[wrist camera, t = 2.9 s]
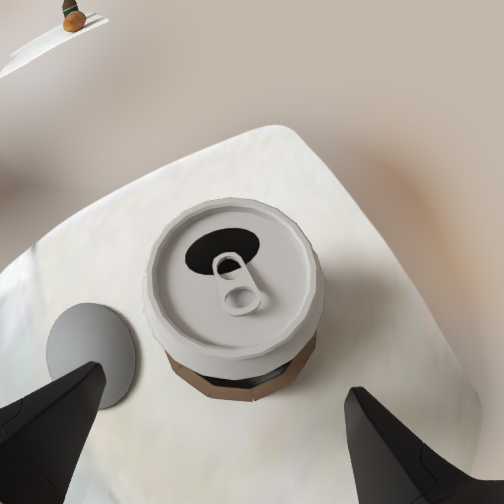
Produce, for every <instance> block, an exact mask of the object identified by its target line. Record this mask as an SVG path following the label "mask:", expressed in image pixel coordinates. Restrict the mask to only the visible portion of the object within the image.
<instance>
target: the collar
mask: <svg viewBox="0 0 504 504" xmlns="http://www.w3.org/2000/svg"><path fill="white" fill-rule="evenodd" d="M314 346H316V330H315V333H314V335H313V337H312V338H311V339H310V340H309V341H308V342H307V344H306V345H305V346H304V347H303V348H302V349H301V350H300V352H299V353H298V354H297V355H296V356H295V357H294V358H293V359H292V360H290V361H288V362H287V363H286V364H285V366H284V367H283V369H282V370H281V372H280V373H279V374H278V375H276V376H274V377H272V378H270V379H268V380H266V381H264V382H262V383H260V384H258V385H255V386H253V387H251V388H245V387H232V386H221V385H217V384H216V383H214V382H213V381H211V380H210V379H209V378H207V377H206V376H204V375H201V374H199V373H197V372H195V371H193V370H191V369H190V368H188V367H186V366H184V365H182V364H180V363H179V362H177V361H175V360H174V359H173V358H172V357H171V356H170V355H169V354H168V353H167V351H166V350H165V349H164V350H165V352H166V355H167V357H168V360H169V362H170V364H171V367H172V369H173V371H176V372H175V373H176V374H177V375H178V376H180V377H181V378H182V379H184V380H185V381H186V382H188V383H189V384H190V385H192V386H193V387H194V388H196V389H197V390H198V391H200V392H201V393H203V394H204V395H206V396H207V397H210V398H214V399H224V400H235V401H248V402H253V399H254V401H257V400H259V399H261V398H263V397H265V396H267V395H269V394H271V393H273V392H275V391H277V390H279V389H281V388H283V387H285V386H287V385H289V384H291V383H292V381H295V379H296V377H297V376H298V374H299V373H300V371H301V370H302V368H303V367H304V365H305V363H306V362H307V360H308V359H309V357H310V355H311V354H312V352H313V350H314V349H315V347H314Z"/></svg>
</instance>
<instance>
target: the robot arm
mask: <svg viewBox="0 0 504 504" xmlns="http://www.w3.org/2000/svg"><path fill="white" fill-rule="evenodd" d="M106 382H107V380H106V376H105V373H104V370H103V367H102V365H101V363H99V362H95V361H89V362H87V363H85V364H84V365H82V366H80V367H78V368H76V369H75V370H73V371H71V372H69V373H67V374H66V375H64V376H62V377H60V378H58V379H56V380H55V381H53V382H51V383H49V384H47V385H45V386H44V387H42V388H40V389H38V390H36V391H34V392H32V393H31V394H29V395H27V396H25V397H24V398H21V399H19V400H17V401H15V402H13V403H11V404H9V405H7V406H5V407H3V408H0V504H63V503H64V500H65V496H66V493H67V490H68V487H69V484H70V481H71V479H72V476H73V473H74V470H75V467H76V465H77V462H78V459H79V457H80V454H81V452H82V449H83V447H84V444H85V442H86V439H87V437H88V434H89V432H90V429H91V427H92V425H93V422H94V420H95V417H96V415H97V412H98V409H99V405H100V402H101V399H102V395H103V392H104V389H105V386H106ZM344 411H345V422H346V433H347V443H348V448H349V453H350V458H351V463H352V468H353V473H354V478H355V484H356V489H357V495H358V500H359V504H504V480H478V479H475V478H473V477H471V476H469V475H467V474H466V473H464V472H463V471H461V470H460V469H458V468H457V467H455V466H454V465H452V464H451V463H449V462H448V461H446V460H445V459H443V458H442V457H441V456H439V455H438V454H437V453H436V452H434V451H433V450H432V449H431V448H430V447H429V446H427V445H426V444H425V443H423V441H422V440H421V439H419V438H418V437H417V436H416V435H415V434H414V433H413V432H412V431H411V430H409V429H408V428H407V427H406V426H405V425H404V424H403V423H402V422H401V421H399V420H398V419H397V418H396V417H395V416H394V415H393V414H392V413H391V412H390V411H388V410H387V409H386V408H385V407H384V406H383V405H382V404H381V403H380V402H379V401H378V400H377V399H375V398H374V397H373V396H372V395H371V394H370V393H369V392H368V391H367V390H366V389H365V388H363V387H361V386H359V387H352V388H351V389H350V390H349V393H348V395H347V398H346V400H345V403H344Z"/></svg>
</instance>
